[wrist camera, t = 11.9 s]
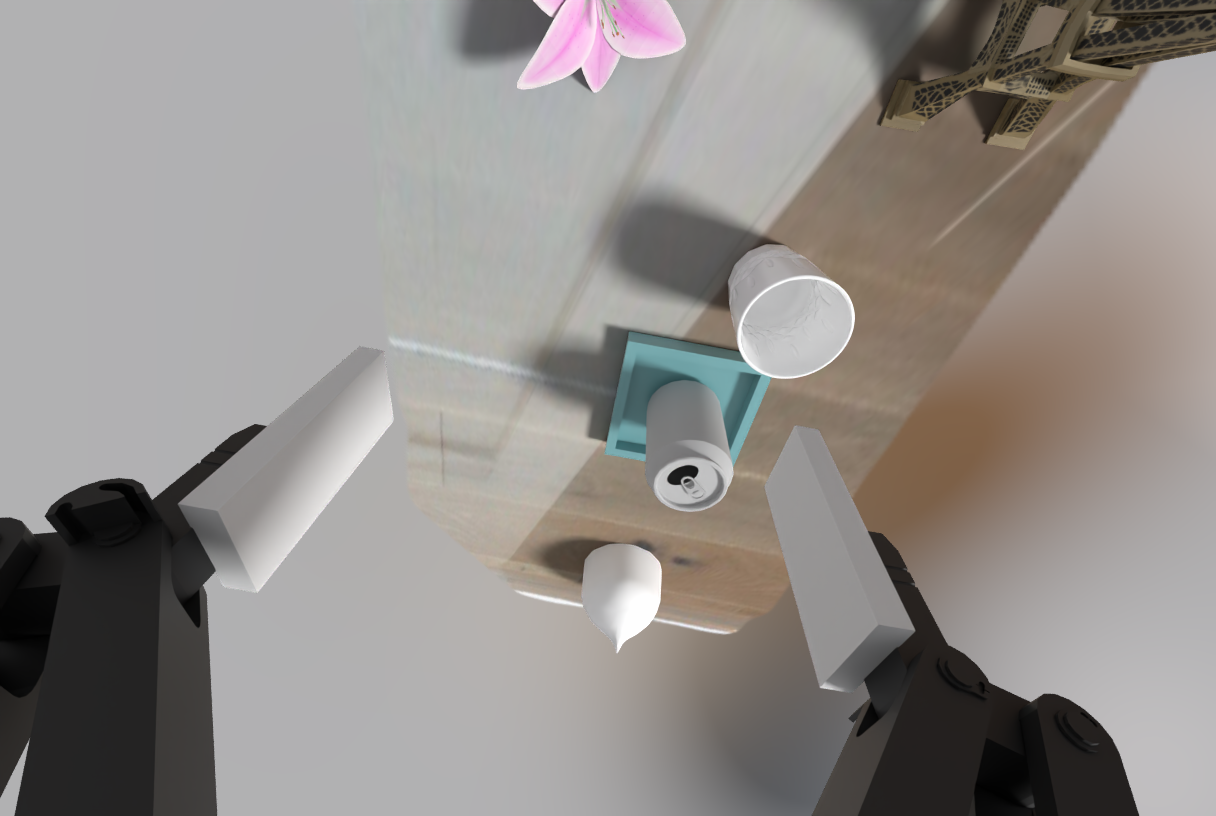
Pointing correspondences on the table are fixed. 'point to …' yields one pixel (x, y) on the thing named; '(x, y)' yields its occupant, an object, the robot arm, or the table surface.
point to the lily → (600, 38)
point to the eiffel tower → (1059, 59)
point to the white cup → (787, 313)
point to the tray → (676, 360)
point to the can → (687, 447)
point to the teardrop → (621, 590)
